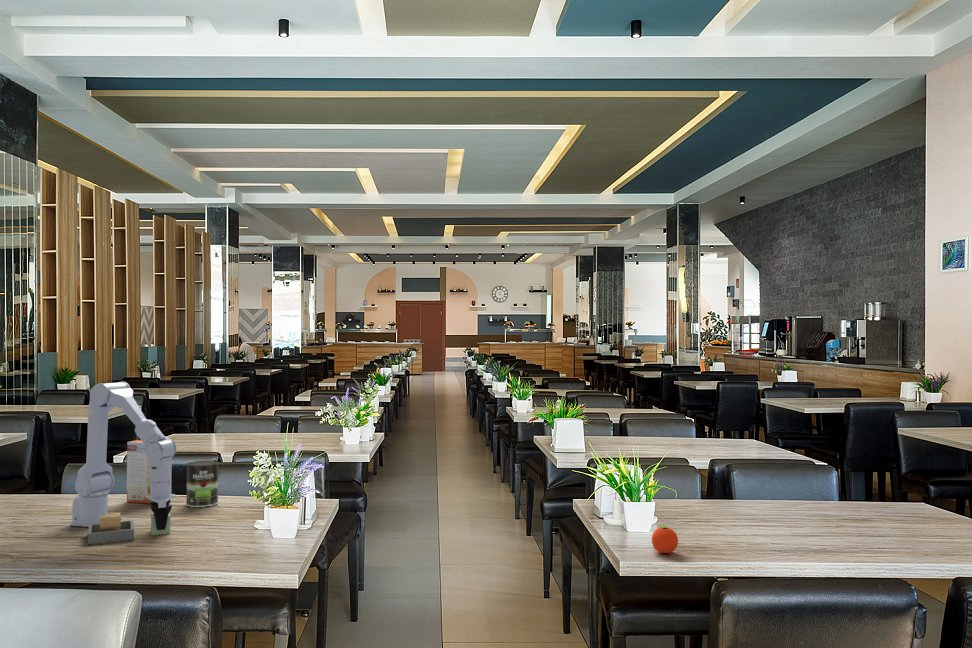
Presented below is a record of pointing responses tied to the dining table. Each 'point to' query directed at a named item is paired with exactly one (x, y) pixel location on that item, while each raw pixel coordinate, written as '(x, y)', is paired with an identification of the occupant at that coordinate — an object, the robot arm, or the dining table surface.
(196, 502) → the coffee can
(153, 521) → the light box
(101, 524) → the brown box
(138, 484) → the cracker box
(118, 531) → the tote
